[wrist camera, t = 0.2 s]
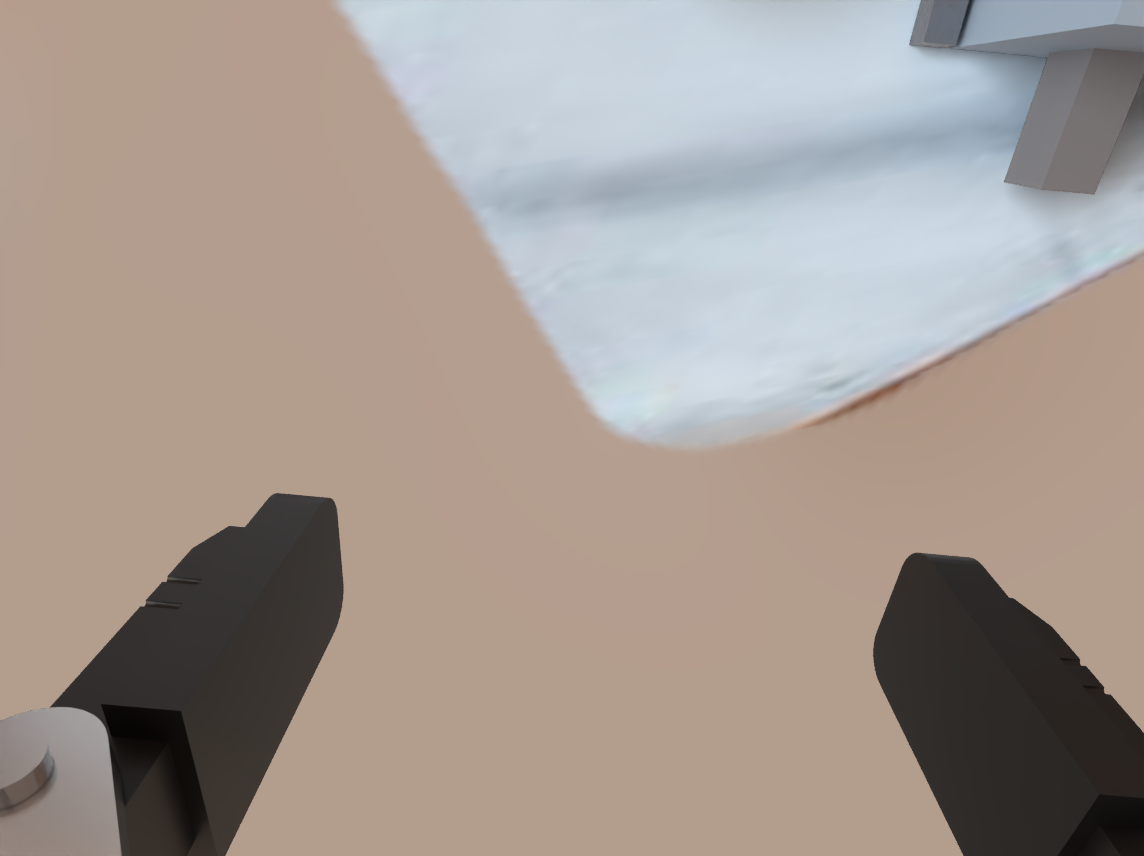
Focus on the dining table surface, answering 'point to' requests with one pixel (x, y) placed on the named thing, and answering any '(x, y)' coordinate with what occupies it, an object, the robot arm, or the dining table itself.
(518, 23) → the dining table surface
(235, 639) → the robot arm
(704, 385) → the dining table surface
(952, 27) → the vise
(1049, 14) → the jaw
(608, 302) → the dining table surface
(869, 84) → the dining table surface
